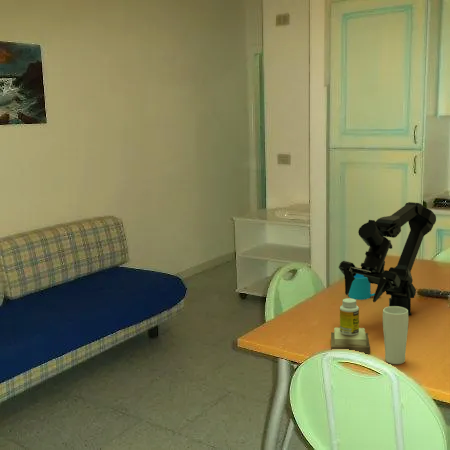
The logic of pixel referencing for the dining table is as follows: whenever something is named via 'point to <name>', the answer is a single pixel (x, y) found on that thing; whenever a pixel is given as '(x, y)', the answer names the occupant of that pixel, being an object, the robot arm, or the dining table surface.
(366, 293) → the mug
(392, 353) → the drinking glass
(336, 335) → the stand
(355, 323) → the supplement bottle
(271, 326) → the dining table surface
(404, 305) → the robot arm
